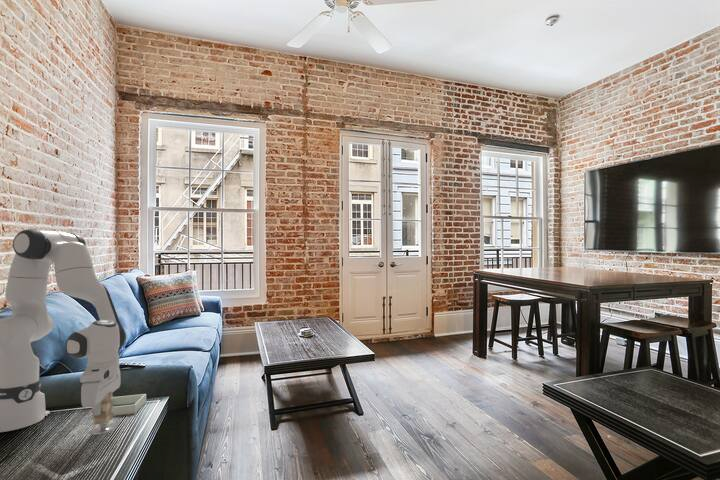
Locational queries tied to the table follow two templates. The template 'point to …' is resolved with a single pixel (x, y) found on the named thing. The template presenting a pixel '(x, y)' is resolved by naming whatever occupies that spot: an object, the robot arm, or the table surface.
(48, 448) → the table surface
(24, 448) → the table surface
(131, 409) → the bin
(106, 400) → the tan rectangular block
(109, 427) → the grey pot lid
